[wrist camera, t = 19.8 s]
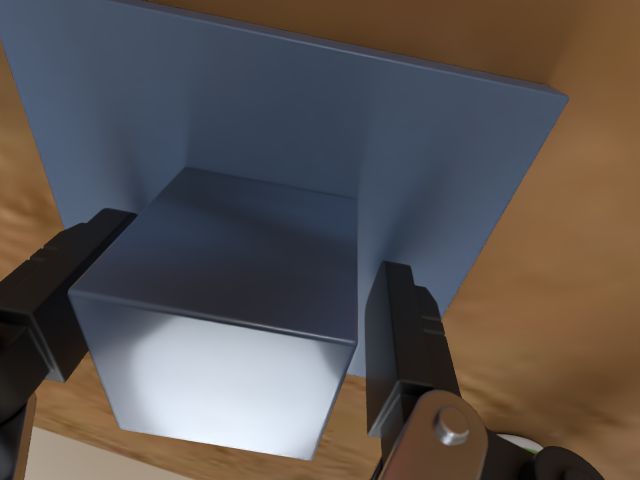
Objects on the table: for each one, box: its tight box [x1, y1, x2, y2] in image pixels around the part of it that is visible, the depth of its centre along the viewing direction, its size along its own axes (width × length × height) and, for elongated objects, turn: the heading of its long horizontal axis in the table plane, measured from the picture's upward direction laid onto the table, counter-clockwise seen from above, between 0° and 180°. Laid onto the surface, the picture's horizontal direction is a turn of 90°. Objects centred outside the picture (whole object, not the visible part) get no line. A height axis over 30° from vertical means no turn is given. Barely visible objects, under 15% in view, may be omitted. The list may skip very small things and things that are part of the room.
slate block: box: [68, 167, 358, 460], centre depth 8 cm, size 4×4×4 cm
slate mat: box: [0, 0, 569, 377], centre depth 11 cm, size 12×11×1 cm
